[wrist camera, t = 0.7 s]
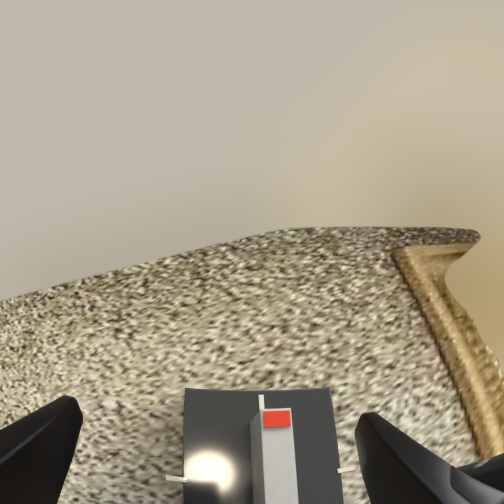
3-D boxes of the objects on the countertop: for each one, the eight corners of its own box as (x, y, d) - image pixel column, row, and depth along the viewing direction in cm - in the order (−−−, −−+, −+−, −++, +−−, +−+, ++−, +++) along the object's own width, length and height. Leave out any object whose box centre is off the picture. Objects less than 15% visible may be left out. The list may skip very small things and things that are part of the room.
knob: (282, 533, 12) (302, 547, 9) (254, 536, 12) (268, 552, 9) (274, 421, 19) (292, 406, 15) (249, 422, 18) (260, 407, 15)
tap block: (343, 539, 14) (361, 544, 11) (173, 552, 12) (168, 562, 10) (329, 396, 23) (343, 384, 21) (173, 396, 22) (169, 385, 19)
